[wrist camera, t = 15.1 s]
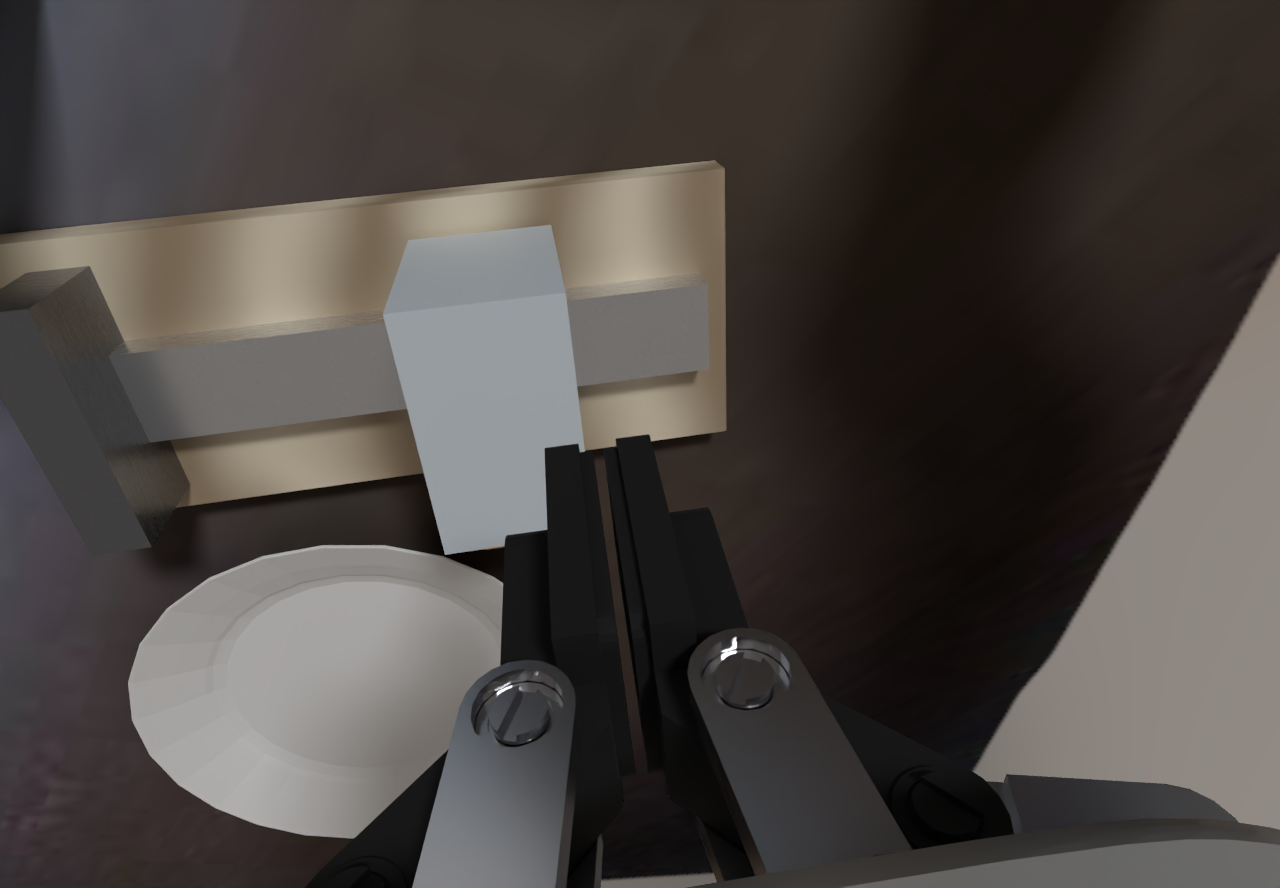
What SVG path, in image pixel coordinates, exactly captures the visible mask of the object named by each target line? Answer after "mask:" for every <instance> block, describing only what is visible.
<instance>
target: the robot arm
mask: <svg viewBox="0 0 1280 888" xmlns="http://www.w3.org/2000/svg"><path fill="white" fill-rule="evenodd" d="M604 457H605V465H606V473H607V481H608V489H609V497H610V505H611V513H612V521H613V529H614V537H615V545H616V553H617V562H618V570H619V577H620V585H621V592H622V599H623V606H624V613H625V619H626V626H627V633H628V640H629V647H630V653H631V660H632V667H633V674H634V681H635V687H636V694H637V701H638V708H639V715H640V721H641V728H642V735H643V742H644V748H645V755H646V762H647V769H648V773H654V772H661V771H663V776H664V782H665V788H666V794H667V795H668V794H669V797H670V799H671V800H672V801H674V802H675V803H677V804H678V805H679V806H681V807H682V808H684V809H685V810H687V811H688V812H690V813H691V814H693V815H694V816H696V818H697V824H698V829H699V833H700V836H701V839H702V841H703V844H704V847H705V850H706V853H707V855H708V858H709V861H710V864H711V867H712V869H713V872H714V875H715V878H716V880H717V883H712V884H706V885H700V886H694V887H688V888H1280V830H1278V829H1274V828H1269V827H1264V826H1257V825H1250V824H1243V823H1239V822H1238V821H1237V820H1236V818H1234V817H1233V816H1232V815H1231V814H1229V813H1228V812H1227V811H1226V810H1224V809H1223V808H1222V807H1221V806H1220V805H1218V804H1217V803H1216V802H1215V801H1213V800H1211V799H1209V798H1207V797H1205V796H1203V795H1201V794H1199V793H1197V792H1195V791H1192V790H1191V789H1187V788H1182V787H1178V786H1173V785H1168V784H1157V783H1140V782H1124V781H1108V780H1091V779H1074V778H1058V777H1041V776H1026V775H1009V774H1007V775H1006V777H1005V780H1004V783H1002V782H987V781H985V780H984V779H983V778H981V777H980V776H978V775H977V774H975V773H974V772H972V771H971V770H969V769H968V768H966V767H965V766H963V765H961V764H959V763H957V762H955V761H953V760H951V759H949V758H947V757H945V756H943V755H941V754H939V753H937V752H935V751H933V750H931V749H929V748H927V747H925V746H924V745H922V744H920V743H918V742H916V741H914V740H912V739H910V738H908V737H906V736H904V735H902V734H900V733H898V732H896V731H894V730H892V729H890V728H888V727H886V726H885V725H883V724H881V723H879V722H877V721H875V720H873V719H871V718H869V717H867V716H865V715H863V714H861V713H859V712H857V711H855V710H853V709H851V708H849V707H847V706H845V705H844V704H842V703H840V702H838V701H836V700H834V699H832V698H830V697H828V696H826V695H824V694H822V693H820V692H819V690H818V689H817V687H816V685H815V683H814V682H813V680H812V678H811V677H810V675H809V673H808V672H807V670H806V668H805V666H804V665H803V663H802V661H801V660H800V658H799V656H798V655H797V654H796V653H795V652H794V650H793V649H792V648H791V647H790V645H789V644H787V643H786V642H784V641H783V640H781V639H780V638H778V637H777V636H775V635H773V634H770V633H767V632H765V631H762V630H759V629H750V628H748V625H747V622H746V619H745V615H744V612H743V609H742V606H741V603H740V600H739V597H738V594H737V591H736V588H735V585H734V582H733V579H732V576H731V572H730V569H729V566H728V563H727V560H726V557H725V554H724V551H723V548H722V545H721V542H720V539H719V536H718V533H717V529H716V526H715V523H714V520H713V517H712V514H711V512H710V510H709V509H708V507H707V508H700V509H693V510H685V511H678V512H671V513H669V510H668V506H667V502H666V498H665V494H664V490H663V486H662V482H661V478H660V474H659V470H658V466H657V462H656V458H655V454H654V451H653V447H652V443H651V439H650V435H649V434H646V435H639V436H631V437H624V438H616V448H609V449H604ZM545 479H546V506H547V530H542V531H534V532H527V533H520V534H513V535H506V538H505V547H504V575H503V602H502V630H501V658H500V666H499V667H496V668H494V669H492V670H490V671H489V672H487V673H486V674H484V675H483V676H482V677H480V678H479V679H477V681H476V682H475V683H474V684H473V685H472V686H471V688H470V689H469V690H468V691H467V692H466V694H465V696H464V698H463V701H462V703H461V705H460V707H459V711H458V715H457V718H456V722H455V726H454V730H453V734H452V738H451V741H450V745H449V749H448V750H447V751H446V752H445V753H444V754H443V755H442V756H441V757H440V758H438V759H437V760H436V761H435V762H434V763H433V764H432V765H431V766H430V767H429V768H428V769H427V770H426V771H425V772H424V773H423V774H422V775H421V776H419V777H418V778H417V779H416V780H415V781H414V782H413V783H412V784H411V785H410V786H409V787H408V788H407V789H406V790H405V791H404V792H403V793H402V794H401V795H399V796H398V797H397V798H396V799H395V800H394V801H393V802H392V803H391V804H390V805H389V806H388V807H387V808H386V809H385V810H384V811H383V812H382V813H380V814H379V815H378V816H377V817H376V818H375V819H374V820H373V821H372V822H371V823H370V824H369V825H368V826H367V827H366V828H365V829H364V830H363V831H361V832H360V833H359V834H358V835H357V836H356V837H355V838H354V839H353V840H352V841H351V842H350V843H349V844H348V845H347V846H346V847H345V848H344V849H343V850H341V851H340V852H339V853H338V854H337V855H336V856H335V857H334V858H333V859H332V860H331V861H330V862H329V863H328V864H327V865H326V866H325V867H324V868H322V869H321V870H320V871H319V872H318V873H317V874H316V876H315V877H314V878H313V879H312V880H311V882H310V883H309V884H308V885H307V886H306V887H305V888H600V887H601V871H602V856H603V841H602V832H603V831H604V830H605V828H606V827H607V826H608V825H609V823H610V822H611V821H612V820H613V818H614V817H615V816H616V815H617V813H618V812H619V811H620V810H621V808H622V807H623V803H622V802H624V798H623V789H622V780H621V778H623V777H629V776H636V772H635V765H634V757H633V749H632V742H631V734H630V727H629V719H628V712H627V704H626V696H625V689H624V681H623V674H622V666H621V659H620V651H619V643H618V636H617V628H616V621H615V613H614V606H613V598H612V590H611V583H610V575H609V568H608V560H607V553H606V545H605V538H604V531H603V523H602V516H601V508H600V501H599V493H598V486H597V478H596V471H595V463H594V456H593V451H587V452H580V450H579V444H571V445H563V446H556V447H548V448H545Z"/></svg>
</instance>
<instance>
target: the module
mask: <svg viewBox="0 0 1280 888" xmlns="http://www.w3.org/2000/svg"><path fill="white" fill-rule="evenodd" d="M383 317H384V321H385V325H386V329H387V333H388V337H389V341H390V344H391V348H392V352H393V356H394V360H395V364H396V368H397V371H398V375H399V379H400V383H401V387H402V391H403V395H404V398H405V402H406V406H407V410H408V414H409V418H410V422H411V426H412V429H413V433H414V437H415V441H416V445H417V449H418V453H419V456H420V460H421V464H422V468H423V472H424V476H425V480H426V484H427V487H428V491H429V495H430V499H431V503H432V507H433V511H434V514H435V518H436V522H437V526H438V530H439V534H440V538H441V541H442V545H443V549H444V553H445V555H448V554H455V553H461V552H468V551H475V550H481V549H486V550H488V549H495V548H501V547H505V538H506V535H513V534H520V533H527V532H534V531H542V530H547V506H546V479H545V448H548V447H556V446H563V445H571V444H579V450H580V452H585V448H584V439H583V431H582V423H581V415H580V406H579V398H578V390H577V382H576V373H575V365H574V357H573V349H572V340H571V332H570V324H569V316H568V307H567V299H566V292H565V287H564V282H563V278H562V273H561V269H560V264H559V259H558V255H557V250H556V246H555V241H554V236H553V232H552V227H551V225H544V226H535V227H525V228H516V229H507V230H498V231H488V232H479V233H470V234H461V235H452V236H442V237H433V238H424V239H415V240H408V243H407V245H406V248H405V251H404V254H403V257H402V260H401V263H400V266H399V269H398V271H397V274H396V277H395V280H394V283H393V286H392V289H391V292H390V295H389V297H388V300H387V303H386V306H385V309H384V312H383Z"/></svg>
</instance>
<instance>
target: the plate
mask: <svg viewBox="0 0 1280 888" xmlns="http://www.w3.org/2000/svg"><path fill="white" fill-rule="evenodd" d="M502 602H503V583H502V582H501V581H499V580H498V579H496V578H495V577H493V576H491V575H489V574H486V573H484V572H481V571H479V570H476V569H474V568H471V567H469V566H466V565H464V564H461V563H459V562H456V561H454V560H451V559H449V558H446V557H444V556H440V555H434V554H429V553H424V552H418V551H413V550H408V549H402V548H397V547H392V546H386V545H321V546H315V547H310V548H304V549H299V550H293V551H288V552H282V553H277V554H271V555H266V556H262V557H259V558H257V559H254V560H252V561H249V562H247V563H244V564H242V565H239V566H237V567H234V568H232V569H229V570H227V571H224V572H222V573H219V574H217V575H214V576H212V577H209V578H208V579H207V580H205V581H204V582H203V583H201V584H200V585H198V586H197V587H196V588H194V589H193V590H192V591H190V592H189V593H187V594H186V595H185V596H183V597H182V598H181V599H179V600H178V601H176V602H175V603H174V604H172V605H171V606H169V607H168V608H167V609H166V610H165V612H164V613H163V614H162V616H161V617H160V618H159V619H158V621H157V622H156V623H155V625H154V626H153V627H152V629H151V630H150V631H149V633H148V634H147V635H146V636H145V638H144V639H143V640H142V642H141V643H140V645H139V648H138V651H137V654H136V658H135V661H134V664H133V667H132V671H131V674H130V677H129V680H128V687H129V696H130V705H131V715H132V721H133V723H134V725H135V727H136V729H137V731H138V733H139V735H140V737H141V739H142V741H143V743H144V745H145V747H146V749H147V751H148V753H149V755H150V756H151V757H152V758H153V759H154V760H155V761H156V762H157V763H158V764H159V765H160V766H161V767H162V768H163V769H164V770H165V772H166V773H167V774H168V775H169V776H170V777H171V778H172V779H173V780H174V781H175V782H176V783H177V784H178V785H179V786H181V787H183V788H184V789H186V790H187V791H189V792H190V793H192V794H194V795H195V796H197V797H198V798H200V799H202V800H203V801H205V802H206V803H208V804H209V805H211V806H213V807H214V808H216V809H219V810H221V811H224V812H226V813H229V814H231V815H234V816H236V817H239V818H242V819H244V820H247V821H249V822H252V823H254V824H257V825H260V826H265V827H269V828H274V829H278V830H283V831H288V832H292V833H297V834H301V835H309V836H323V837H338V838H355V837H356V836H357V835H358V834H359V833H360V832H361V831H363V830H364V829H365V828H366V827H367V826H368V825H369V824H370V823H371V822H372V821H373V820H374V819H375V818H376V817H377V816H378V815H379V814H380V813H382V812H383V811H384V810H385V809H386V808H387V807H388V806H389V805H390V804H391V803H392V802H393V801H394V800H395V799H396V798H397V797H398V796H399V795H401V794H402V793H403V792H404V791H405V790H406V789H407V788H408V787H409V786H410V785H411V784H412V783H413V782H414V781H415V780H416V779H417V778H418V777H419V776H421V775H422V774H423V773H424V772H425V771H426V770H427V769H428V768H429V767H430V766H431V765H432V764H433V763H434V762H435V761H436V760H437V759H438V758H440V757H441V756H442V755H443V754H444V753H445V752H446V751H447V750H448V749H449V745H450V741H451V738H452V734H453V730H454V726H455V722H456V718H457V715H458V711H459V707H460V705H461V703H462V701H463V698H464V696H465V694H466V692H467V691H468V690H469V689H470V688H471V686H472V685H473V684H474V683H475V682H476V681H477V679H479V678H480V677H482V676H483V675H484V674H486V673H487V672H489V671H490V670H492V669H494V668H496V667H499V666H500V658H501V630H502Z"/></svg>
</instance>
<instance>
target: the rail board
mask: <svg viewBox="0 0 1280 888" xmlns="http://www.w3.org/2000/svg"><path fill="white" fill-rule="evenodd" d="M544 225H551V227H552V232H553V236H554V241H555V246H556V250H557V255H558V259H559V264H560V269H561V273H562V278H563V282H564V287H565V289H566V288H575V287H583V286H592V285H600V284H609V283H617V282H626V281H634V280H643V279H651V278H660V277H668V276H677V275H685V274H693V273H700V274H701V275H702V276H703V278H704V279H705V281H706V282H707V284H708V321H709V369H707V370H700V371H692V372H684V373H677V374H669V375H661V376H654V377H646V378H639V379H631V380H623V381H616V382H608V383H601V384H593V385H585V386H578V387H577V390H578V398H579V406H580V415H581V423H582V431H583V439H584V448H585V450H592V449H599V448H607V447H614V446H616V438H624V437H631V436H639V435H646V434H649V435H650V439H651V441H657V440H664V439H671V438H678V437H685V436H692V435H699V434H707V433H714V432H721V431H726V305H725V169H724V168H723V167H722V166H721V165H720V164H718V163H717V162H716V161H715V160H714V161H704V162H695V163H685V164H675V165H666V166H656V167H646V168H637V169H627V170H617V171H608V172H598V173H588V174H578V175H569V176H559V177H549V178H540V179H530V180H520V181H511V182H501V183H491V184H482V185H472V186H462V187H453V188H443V189H433V190H423V191H414V192H404V193H394V194H385V195H375V196H365V197H356V198H346V199H336V200H327V201H317V202H307V203H298V204H288V205H278V206H268V207H259V208H249V209H239V210H230V211H220V212H210V213H201V214H191V215H181V216H172V217H162V218H152V219H143V220H133V221H123V222H114V223H104V224H94V225H84V226H75V227H65V228H55V229H46V230H36V231H26V232H17V233H7V234H0V289H1V288H3V287H4V286H6V285H7V284H9V283H11V282H12V281H14V280H16V279H17V278H19V277H20V276H22V275H24V274H25V273H29V272H38V271H47V270H56V269H66V268H75V267H84V266H90V268H91V270H92V272H93V274H94V276H95V279H96V281H97V283H98V285H99V287H100V289H101V292H102V294H103V296H104V298H105V300H106V303H107V305H108V307H109V309H110V311H111V313H112V316H113V318H114V320H115V322H116V324H117V326H118V329H119V331H120V333H121V335H122V337H123V339H124V341H126V340H135V339H143V338H152V337H160V336H169V335H177V334H186V333H194V332H202V331H211V330H219V329H228V328H236V327H245V326H253V325H262V324H270V323H279V322H287V321H296V320H304V319H313V318H321V317H329V316H338V315H346V314H355V313H363V312H372V311H380V310H384V309H385V306H386V303H387V300H388V297H389V295H390V292H391V289H392V286H393V283H394V280H395V277H396V274H397V271H398V269H399V266H400V263H401V260H402V257H403V254H404V251H405V248H406V245H407V243H408V240H415V239H424V238H433V237H442V236H452V235H461V234H470V233H479V232H488V231H498V230H507V229H516V228H525V227H535V226H544ZM170 441H171V444H172V446H173V448H174V450H175V452H176V454H177V457H178V459H179V461H180V463H181V465H182V467H183V470H184V472H185V474H186V476H187V478H188V480H189V483H190V486H189V487H188V489H187V490H186V492H185V494H184V495H183V497H182V499H181V500H180V502H179V504H178V505H177V507H176V508H178V507H185V506H192V505H199V504H206V503H213V502H220V501H228V500H235V499H242V498H249V497H256V496H263V495H270V494H278V493H285V492H292V491H299V490H306V489H313V488H321V487H328V486H335V485H342V484H349V483H356V482H363V481H371V480H378V479H385V478H392V477H399V476H406V475H413V474H421V473H424V472H423V468H422V464H421V460H420V456H419V453H418V449H417V445H416V441H415V437H414V433H413V429H412V426H411V422H410V418H409V414H408V410H407V409H402V410H395V411H387V412H380V413H372V414H364V415H357V416H349V417H341V418H334V419H326V420H319V421H311V422H303V423H296V424H288V425H281V426H273V427H265V428H258V429H250V430H242V431H235V432H227V433H220V434H212V435H204V436H197V437H189V438H182V439H174V440H170Z"/></svg>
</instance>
